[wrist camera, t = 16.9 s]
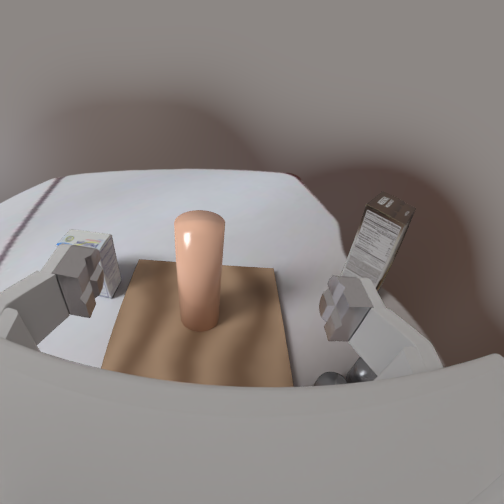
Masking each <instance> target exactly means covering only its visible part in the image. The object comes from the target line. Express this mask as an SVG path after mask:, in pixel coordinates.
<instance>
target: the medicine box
mask: <svg viewBox="0 0 504 504" xmlns="http://www.w3.org/2000/svg"><path fill="white" fill-rule="evenodd" d="M62 243H65V244H71V245H78V246H85V247H91V248H97V249H98V250H99V251H100V256H101V260H100V262H99V263H98V264H99V265H100V266H101V267H102V268H103V272H104V283H103V289H102V291H101V293H100V295H99V296H103V297H108V298H112V296H113V294H114V293H115V291H116V289H117V287H118V285H119V283H120V281H121V275H120V271H119V267H118V262H117V258H116V253H115V249H114V244H113V238H112V235H111V234H105V233H97V232H90V231H81V230H73V229H71V230H69V231H68V232H67V233H66V234H65V235H64V236H63V237H62V239H61V240H60V241H59V242H58V243H57V245H56V248H57V247H58V246H59V244H62Z"/></svg>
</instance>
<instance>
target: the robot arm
mask: <svg viewBox="0 0 504 504" xmlns="http://www.w3.org/2000/svg"><path fill="white" fill-rule="evenodd" d="M100 260H101V256H100V251H99V250H98V249H97V248H91V247H85V246H78V245H71V244H65V243H62V244H59V246H58V247H57V248H56V250H55V251H54V252H53V254H52V255H51V257H50V258H49V259H48V261H47V262H46V264H45V265H44V267H43V268H42V269H41V271H36V272H34V273H32V274H31V275H29V276H27V277H26V278H24V279H22V280H20V281H19V282H17V283H15V284H14V285H12V286H11V287H9V288H7V289H6V290H4V291H2V292H1V293H0V504H504V358H503V357H502V356H501V355H499V354H490V355H487V356H484V357H481V358H478V359H474V360H471V361H467V362H464V363H460V364H457V365H453V366H449V367H445V368H443V365H442V363H441V361H440V359H439V357H438V355H437V353H436V351H435V349H434V347H433V345H432V343H431V342H430V341H428V340H427V339H426V338H425V337H424V336H422V335H421V334H420V333H419V332H418V331H416V330H415V329H414V328H413V327H411V326H410V325H409V324H408V323H407V322H405V321H404V320H403V319H402V318H400V317H399V316H398V315H397V314H395V313H394V312H393V311H392V310H391V309H389V308H386V307H385V305H384V303H383V301H382V300H381V298H380V296H379V294H378V292H377V290H376V288H375V286H374V285H373V283H372V281H371V280H370V279H369V278H362V277H345V276H332V277H331V278H330V279H329V281H328V287H329V289H328V290H326V291H325V292H324V293H323V294H322V297H321V299H320V305H319V310H320V315H321V318H322V319H323V320H325V321H326V324H325V326H324V328H325V332H326V335H327V338H328V341H349V342H348V343H349V344H350V345H351V346H352V347H353V348H354V350H355V351H356V352H357V353H358V354H359V355H360V356H361V358H362V359H363V360H364V361H365V362H366V363H367V364H368V366H369V367H370V368H371V369H372V370H373V371H374V372H375V374H376V375H377V377H376V378H375V379H374V380H373V381H367V382H358V383H349V384H338V385H325V386H307V387H236V386H218V385H205V384H194V383H185V382H176V381H168V380H161V379H154V378H147V377H141V376H136V375H130V374H125V373H120V372H115V371H110V370H105V369H101V368H96V367H92V366H88V365H84V364H80V363H76V362H73V361H69V360H66V359H62V358H59V357H55V356H52V355H49V354H46V353H43V352H41V351H40V350H39V348H38V347H37V345H38V344H39V343H40V342H41V341H42V340H43V339H44V338H45V337H46V336H47V335H49V334H50V333H51V332H52V331H53V330H54V329H55V328H56V327H57V326H58V325H60V324H61V323H62V322H63V321H64V320H65V319H66V318H67V317H69V316H70V315H69V314H71V315H76V316H81V317H87V318H90V317H91V315H92V312H93V310H94V307H95V305H96V302H95V298H96V297H97V296H99V295H100V293H101V291H102V289H103V283H104V272H103V268H102V267H101V266H100V265H99V264H98V263H99V262H100Z"/></svg>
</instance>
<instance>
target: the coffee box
mask: <svg viewBox="0 0 504 504" xmlns="http://www.w3.org/2000/svg"><path fill="white" fill-rule="evenodd" d="M415 209H416V208H415V207H413V206H411V205H408V204H407V203H405V202H404V201H402V200H400V199H398V198H396V197H394V196H392V195H390V194H388V193H385V192H381V193H380V194H379V195H377V196H376V197H375V198H374V199H373V200H371V201H370V202H369V203H367V204H366V207H365V210H364V213H363V216H362V219H361V222H360V225H359V228H358V231H357V234H356V237H355V239H354V242H353V245H352V247H351V250H350V253H349V255H348V258H347V260H346V263H345V265H344V268H343V270H342V273H341V275H340V276H345V277H362V278H369V279H370V280H371V281H372V283H373V285H374V286H375V288H376V290H377V291H378V290H379V288H380V287H381V285H382V284H383V282H384V279H385V278H386V275H387V273H388V271H389V269H390V267H391V265H392V263H393V261H394V259H395V257H396V254H397V252H398V250H399V248H400V245H401V243H402V241H403V239H404V236H405V234H406V232H407V229H408V227H409V224H410V222H411V219H412V217H413V214H414V211H415Z"/></svg>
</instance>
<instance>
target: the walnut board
mask: <svg viewBox="0 0 504 504" xmlns="http://www.w3.org/2000/svg"><path fill="white" fill-rule="evenodd" d="M101 369H105V370H110V371H115V372H120V373H125V374H130V375H136V376H141V377H147V378H154V379H161V380H168V381H176V382H185V383H194V384H205V385H218V386H236V387H293V380H292V374H291V368H290V362H289V355H288V349H287V343H286V337H285V331H284V326H283V320H282V314H281V308H280V302H279V297H278V291H277V285H276V280H275V274H274V269H273V268H257V267H241V266H225V265H222V273H221V289H220V306H219V320H218V323H217V324H216V326H215V327H213V328H212V329H210V330H208V331H204V332H196V331H192V330H190V329H188V328H186V327H185V326H184V325H183V323H182V321H181V316H180V306H179V294H178V282H177V267H176V262H167V261H153V260H140V259H139V261H138V263H137V266H136V268H135V271H134V273H133V276H132V278H131V281H130V283H129V286H128V289H127V291H126V294H125V297H124V299H123V302H122V305H121V307H120V310H119V313H118V316H117V319H116V322H115V325H114V328H113V331H112V334H111V337H110V340H109V343H108V346H107V350H106V353H105V356H104V360H103V363H102V367H101Z"/></svg>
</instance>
